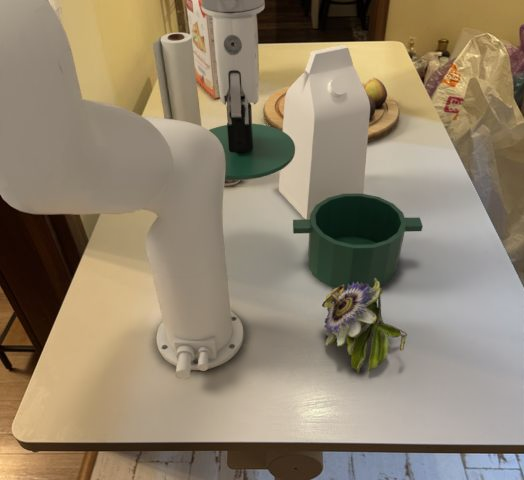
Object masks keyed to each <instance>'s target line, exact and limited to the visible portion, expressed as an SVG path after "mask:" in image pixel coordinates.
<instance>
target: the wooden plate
mask: <svg viewBox="0 0 524 480" xmlns="http://www.w3.org/2000/svg"><path fill="white" fill-rule="evenodd" d="M362 85H363V87H364V89H365V91H366V94H367V96H368V99H369V103H370V118H369V129H368V141H367V143H368V142H370V141H373V140H377V139H379V138H381V137H383V136H385V135H387V134H388V133H390V132H391V131H392V130H393V129H394V128H395V127H396V125H397V124H398V122H399V118H400V113H401V111H400V107H399V105H398V103H397V102H396V100H395V99H394V98H393V97H392V96H391V95H390V94H388V92H387V88H386V86H385V84H384V83H383V82H382V81H381V80H379V79H378V78H377V77H375V76H373V77H372V78H370V79H369V80H368V81H367V82H366V83H362ZM291 86H292V84H290V85H286V86H285V87H281V88H279V89H278V90H277V91H275V92H273V93H272V94H271V95H270V96H269V97H267V99H266V101H265V103H264V105H263V118H264V121H265V122H266V124H268V126H270V127H274V128H276V129H279V130H281V131H283V118H284V103H285V95H286V92H287V91H288V89H289V88H290V87H291Z"/></svg>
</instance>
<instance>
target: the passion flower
mask: <svg viewBox="0 0 524 480" xmlns="http://www.w3.org/2000/svg"><path fill="white" fill-rule="evenodd" d="M344 288H345V285H341V286H340V287H338V288H333V290H332V291H331V292H330V293H327V294H326V296H325V300H324V301H323V302H322V304H321V307H322V308H326V310H327V315H326V318H325V319H324V323H325V325H324V326H323V327H324V328H326V332H325V336H327V338H326V340H325V344H324V345H325V346H327V347H332V346H333V345H334V344H336V346H337V347H342V346H344V345H346V351H347V354H348V355H349V356H351V357H350V365H351V369H353V370H355V371H356V372H357V373H360V370H361V367H362V366H363V365H364V363H365V361H366V356H367V351H368V347H369V346H368V343H369V341H370V340H371V342H370V343H371V344H370V355H369V356H368V369H367V370H368V373H370V372H372V371H373V370H375V369H376V368H378V366H379V365H381V364H382V363H383V362H384V361H385V359H386V358H387V357H388V354H389V351H390V349H391V348H390V347H391V345H390V340H389V338H388V337H391V338H399V337H400V344H399V351H400V352H402V351H404V348H405V344H406V338H407V336H408V334H407V332H406V331H404V330H402V329H400V328H398V327H396V326H393V325H391V324H388V323H385V322H384V319H383V316H382V303H381V302H382V300H381V299H382V298H381V296H382V292H383V288H381V286H380V283H379V281H378V280H377V279H376V278H374V285H373V287H372V288H370V287H369V284H366V283H365V284H364V285H363V283H362V282H361V284H359V282H356V284H354V282H353V284H352V285H349V284H348V288H347V290H344ZM367 325H368V326H367ZM366 326H367V327H366ZM364 328H366V329H364ZM363 329H364V330H363ZM362 330H363V331H362ZM402 333H403V334H402Z"/></svg>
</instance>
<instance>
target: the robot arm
mask: <svg viewBox="0 0 524 480" xmlns="http://www.w3.org/2000/svg"><path fill="white" fill-rule="evenodd" d="M265 3H266V1H265V0H201V4H202V11H203V12H204V13H205V14H207V15H210V16H212V19H213V32H214V44H215V56H216V66H217V75H218V84H219V92H220V102H221V103H222V104H223V105H224V106H226V113H227V112H228V120H227V123H226V125H227V130H228V144H229V151H230V152H251V150H252V141H251V122H249V115H248V102H249V103H250V104H253V105H256V104H257V103H258V102H259V98H260V63H259V62H260V61H259V60H260V59H259V56H260V55H259V31H258V17H257V15H258V14H260V13H261V12H262V11H264V9H265V7H266V6H265V5H266V4H265ZM241 106H244V110H241ZM209 130H210V129H208V128H206V127H204V126H202V125H201V126H199V125H196V124H193V123H190V122H185V121H180V120H173V119H165V118H164V117H155V116H150V115H149V116H148V115H140V114H139V113H137V112H134V111H132V110H130V109H127V108H125V107H122V106H119V105H115V104H112V103H107V102H103V101H98V100H91V99H85V98H83V95H82V90H81V87H80V82H79V77H78V73H77V68H76V64H75V60H74V54H73V51H72V47H71V44H70V41H69V38H68V35H67V32H66V31H65V28H64V26H63V23H62V22H61V20H60V17H59V16H58V14H57V13H56V11H55V9H54V7H53V6H52V5H51V3H50V2H49V0H0V196H1V198H2V200H3V201H4V202H5V203H7V204H8V205H9V206H10V207H12V208H13V209H15V210H17V211H19V212H22V213H27V214H31V215H125V214H131V213H132V214H133V213H135V212H138V211H142V210H144V211H149V212H151V213H154V214H155V215H156V216H157V217H156V219H154V221H153V222H152V224H151V225H150V227H149V228H148V231H147V233H146V237H145V250H146V255H147V260H148V262H149V263H148V264H149V267H150V271H151V276H152V279H153V284H154V289H155V294H156V297H157V301H158V305H159V310H160V314H161V318H162V321H161V323H160V324H159V326H158V329H157V332H156V335H155V336H156V339H155V340H156V345H157V348H158V351H159V353H160V355H161V356H162V357H163V359H164V360H165V361H166V362H168V363H169V364H171V365H172V366H175V367H176V368H175V377H176V378H177V379H179V380H189V378H190V377H191V372H192V371H201V372H206V371H207V370H210V369H213V368H217V367H218V366H219V367H220V366H221V365H223V364H225V363H227V362H228V361H229V360H231V359H232V358H234V357H235V356H236V354H237V353H238V352H239V351H240V349H241V347H242V345H243V343H244V342H243V341H244V326H243V323H242V321H241V319H240V318H239V316H238V315H237V314H236V313H234V312H233V310H231V301H230V292H229V291H230V290H229V279H228V269H227V260H226V248H225V238H224V237H225V236H224V224H223V223H224V222H223V221H224V218H223V217H224V216H223V215H224V214H223V211H224V210H223V207H224V206H223V205H224V192H225V185H224V183H225V172H226V160H225V152H224V149H223V146H222V144H221V142H220V141H219V139H218V138H217V137H216V136H215V135H214V134H213V133H212V132H210V131H209Z"/></svg>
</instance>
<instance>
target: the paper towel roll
mask: <svg viewBox="0 0 524 480" xmlns="http://www.w3.org/2000/svg"><path fill="white" fill-rule="evenodd" d="M151 45H152V51H153V58H154V64H155V70H156V76H157V81H158V88H159V94H160V100H161V107H162V112H163V118H165V119H173V120H180V121H185V122H190V123H193V124H196V125H199V126H202V119H201V117H202V116H201V110H200V101H199V92H198V83H197V82H198V81H197V80H196V72H195V63H194V54H193V46H192V37H191V35H190V33H187V32H170V33H166V34H164V35H162V36H160V37H158V38H157V40H155V41H154V42H152V44H151Z"/></svg>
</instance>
